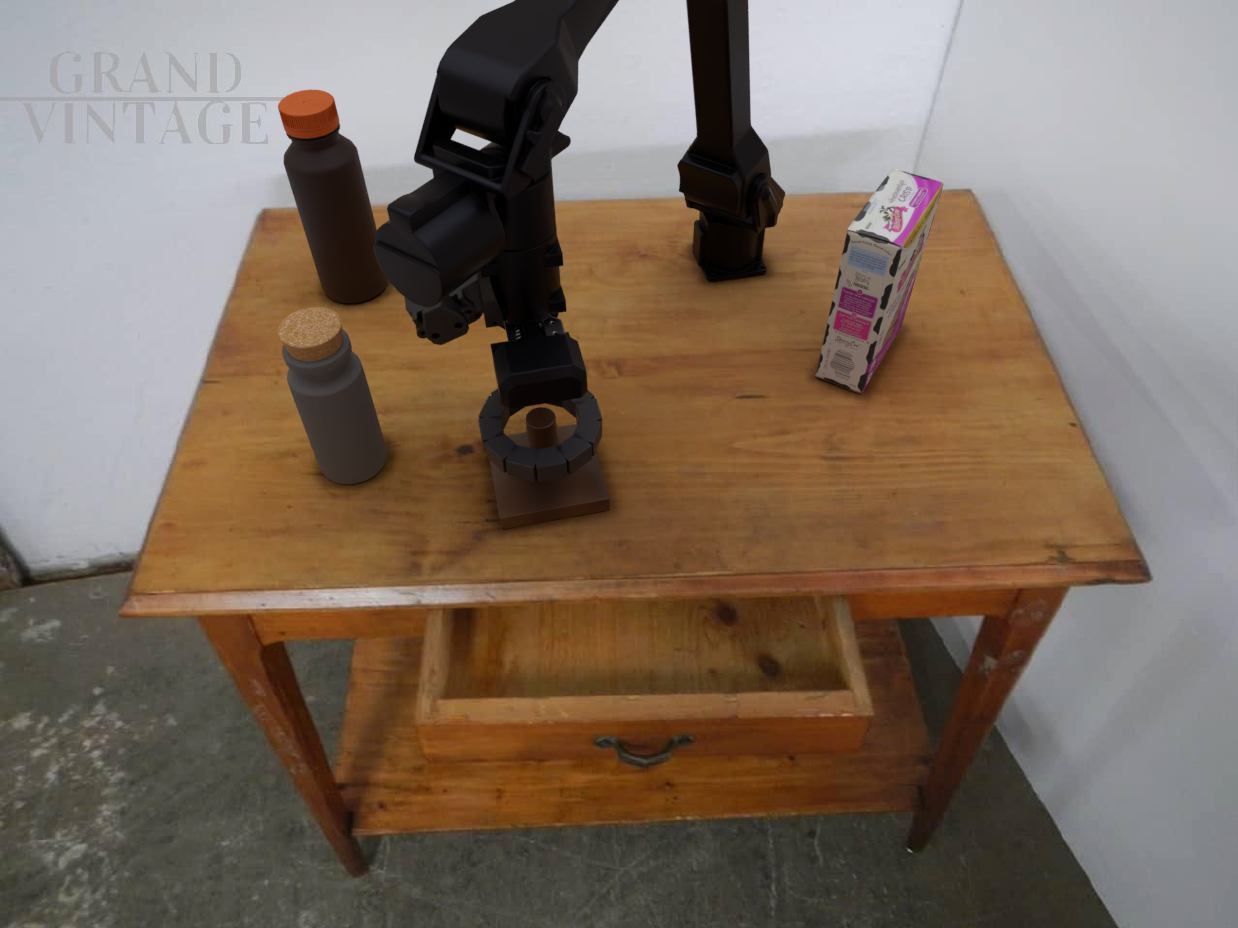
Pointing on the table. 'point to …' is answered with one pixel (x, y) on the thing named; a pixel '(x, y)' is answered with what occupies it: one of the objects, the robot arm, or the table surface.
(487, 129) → the robot arm
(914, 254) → the candy bar box
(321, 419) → the bottle
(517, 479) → the peg stand
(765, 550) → the table surface
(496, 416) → the ring
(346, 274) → the vinegar
